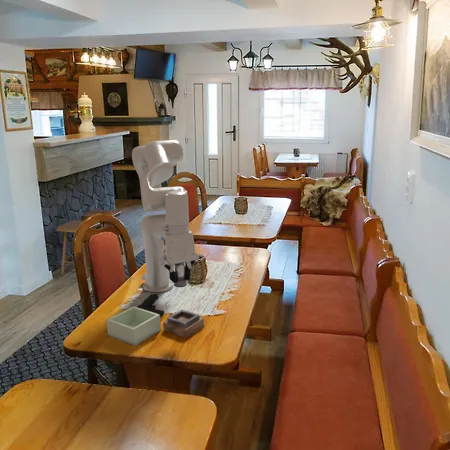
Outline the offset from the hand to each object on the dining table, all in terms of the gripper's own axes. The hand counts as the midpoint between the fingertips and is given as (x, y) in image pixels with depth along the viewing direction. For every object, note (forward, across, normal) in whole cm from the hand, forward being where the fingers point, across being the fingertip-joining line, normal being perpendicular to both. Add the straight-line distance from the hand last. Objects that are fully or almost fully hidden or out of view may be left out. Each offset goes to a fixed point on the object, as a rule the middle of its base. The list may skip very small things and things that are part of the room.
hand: (180, 279), depth 158 cm
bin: (+18, -16, +4) cm, 24 cm away
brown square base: (+18, 0, 0) cm, 18 cm away
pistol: (+19, -4, +20) cm, 28 cm away
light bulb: (+2, 0, 0) cm, 2 cm away
